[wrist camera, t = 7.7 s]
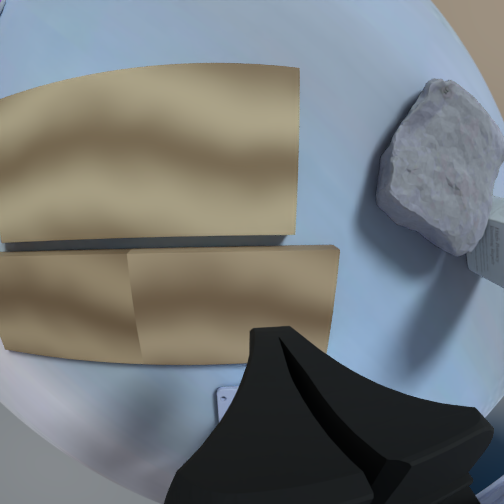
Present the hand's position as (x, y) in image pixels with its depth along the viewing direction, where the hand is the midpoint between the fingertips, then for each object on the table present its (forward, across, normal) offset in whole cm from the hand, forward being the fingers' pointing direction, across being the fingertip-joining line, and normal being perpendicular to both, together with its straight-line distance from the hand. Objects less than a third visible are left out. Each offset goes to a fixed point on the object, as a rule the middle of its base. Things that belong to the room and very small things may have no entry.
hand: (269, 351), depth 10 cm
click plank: (+10, +7, -7) cm, 14 cm away
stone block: (+10, -14, -8) cm, 19 cm away
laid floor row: (+10, +7, +3) cm, 12 cm away
